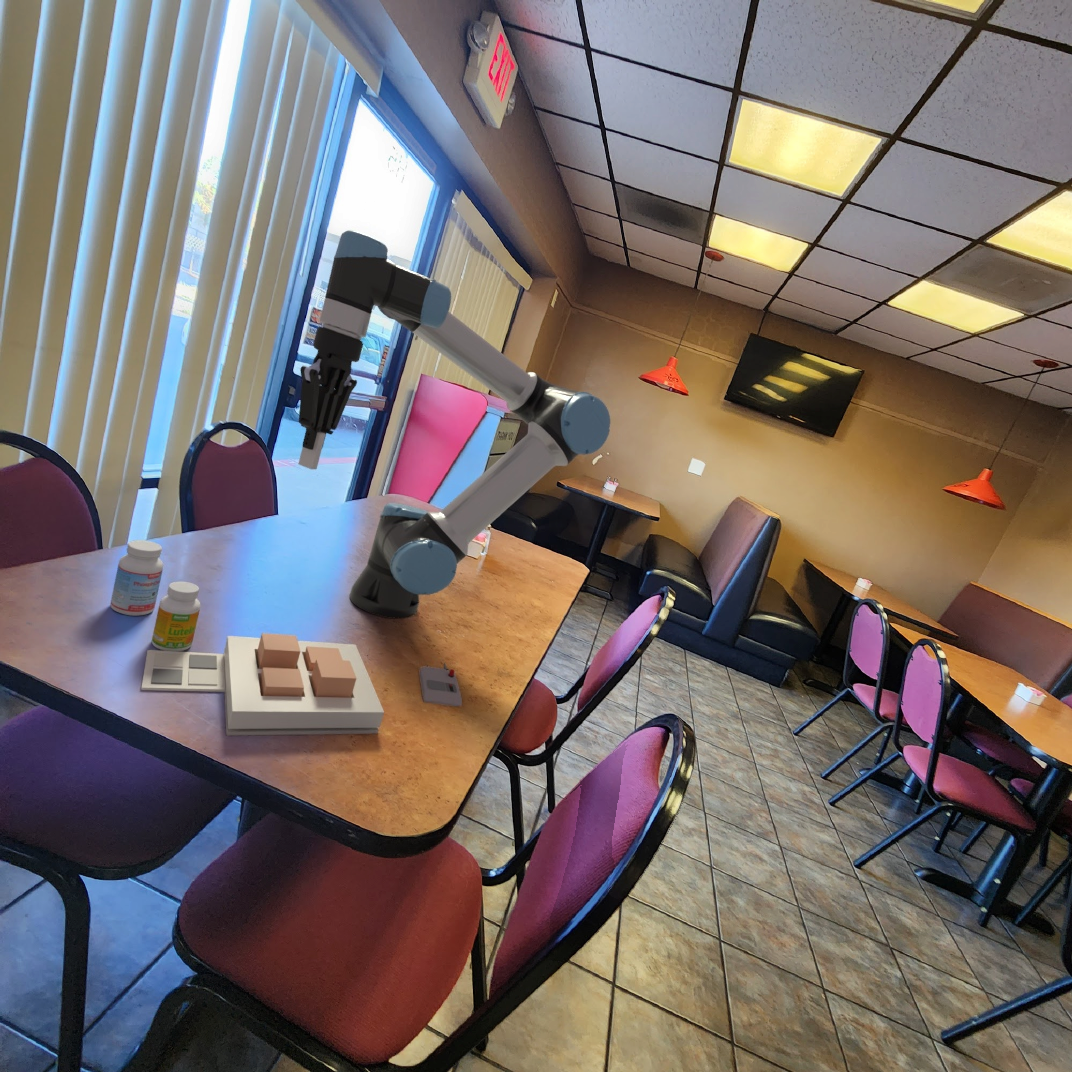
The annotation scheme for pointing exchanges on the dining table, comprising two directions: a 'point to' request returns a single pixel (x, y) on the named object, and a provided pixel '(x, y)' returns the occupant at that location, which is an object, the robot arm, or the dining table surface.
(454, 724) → the dining table surface
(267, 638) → the button
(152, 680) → the card
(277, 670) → the button
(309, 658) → the button
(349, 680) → the button
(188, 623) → the supplement bottle
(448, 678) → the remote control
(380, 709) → the board
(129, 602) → the pill bottle
